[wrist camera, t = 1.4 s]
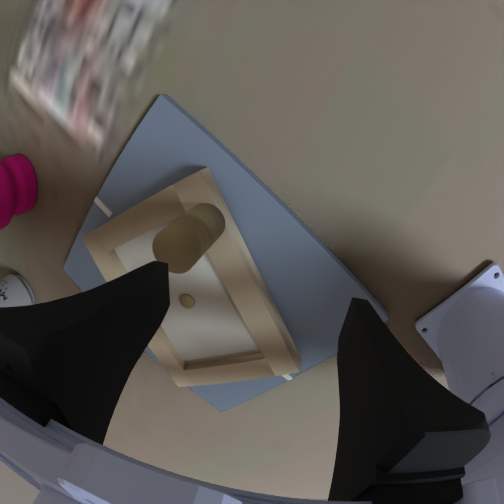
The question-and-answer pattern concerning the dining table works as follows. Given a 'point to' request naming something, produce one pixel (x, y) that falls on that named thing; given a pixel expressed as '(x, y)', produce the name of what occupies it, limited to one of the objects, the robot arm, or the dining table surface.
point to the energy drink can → (15, 292)
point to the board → (250, 227)
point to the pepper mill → (16, 187)
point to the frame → (200, 286)
